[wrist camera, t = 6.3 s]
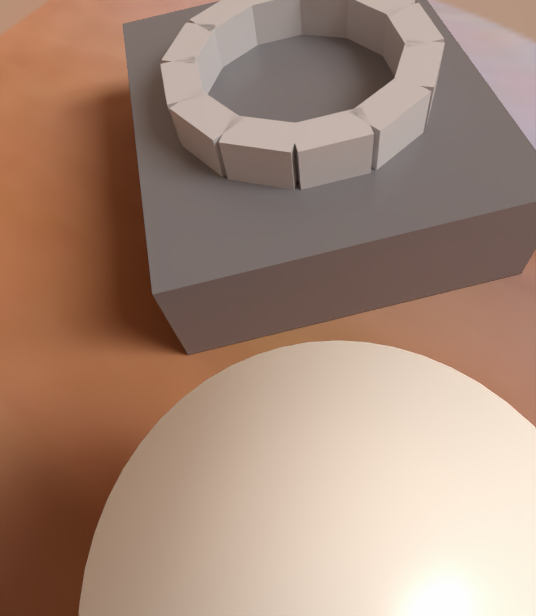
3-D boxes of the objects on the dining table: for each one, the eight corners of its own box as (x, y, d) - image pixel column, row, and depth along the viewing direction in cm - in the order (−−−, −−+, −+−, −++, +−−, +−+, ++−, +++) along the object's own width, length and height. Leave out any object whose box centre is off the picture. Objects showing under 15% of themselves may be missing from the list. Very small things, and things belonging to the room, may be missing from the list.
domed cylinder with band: (259, 744, 12) (64, 1124, 3) (224, 514, 14) (67, 390, 6) (471, 691, 12) (832, 927, 3) (397, 472, 15) (490, 289, 6)
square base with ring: (188, 354, 17) (133, 263, 13) (152, 104, 25) (109, -14, 20) (521, 273, 17) (591, 153, 13) (388, 48, 25) (401, -83, 20)
